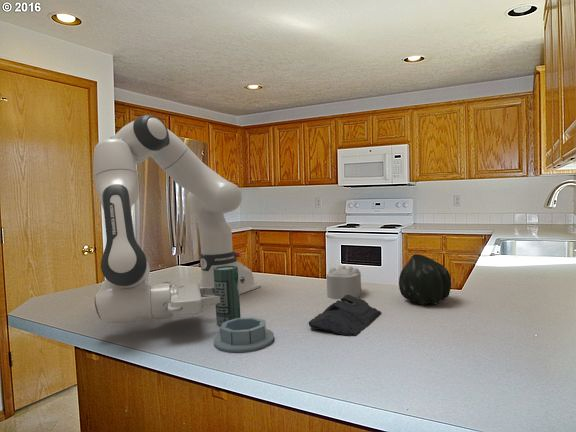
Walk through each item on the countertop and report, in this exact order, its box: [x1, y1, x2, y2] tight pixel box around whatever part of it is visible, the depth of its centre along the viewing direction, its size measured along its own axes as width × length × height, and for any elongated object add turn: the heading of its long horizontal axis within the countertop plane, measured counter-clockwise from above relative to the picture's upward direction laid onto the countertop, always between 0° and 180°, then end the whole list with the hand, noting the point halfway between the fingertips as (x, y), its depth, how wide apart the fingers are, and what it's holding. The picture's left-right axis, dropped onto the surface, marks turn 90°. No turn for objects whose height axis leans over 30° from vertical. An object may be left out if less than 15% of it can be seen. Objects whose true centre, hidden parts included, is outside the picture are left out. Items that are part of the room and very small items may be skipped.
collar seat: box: [213, 316, 275, 354], centre depth 97 cm, size 14×14×4 cm
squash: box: [398, 253, 452, 306], centre depth 122 cm, size 14×15×15 cm
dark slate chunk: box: [308, 295, 382, 337], centre depth 108 cm, size 15×22×5 cm
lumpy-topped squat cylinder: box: [326, 265, 362, 300], centre depth 135 cm, size 10×13×9 cm
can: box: [213, 266, 242, 327], centre depth 110 cm, size 6×6×15 cm
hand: (218, 294), depth 110 cm, fingers open, 8 cm apart
